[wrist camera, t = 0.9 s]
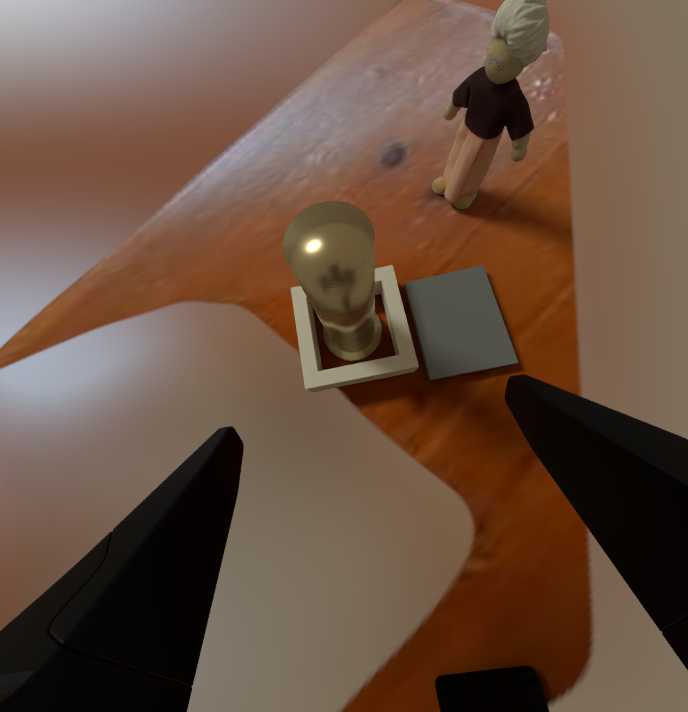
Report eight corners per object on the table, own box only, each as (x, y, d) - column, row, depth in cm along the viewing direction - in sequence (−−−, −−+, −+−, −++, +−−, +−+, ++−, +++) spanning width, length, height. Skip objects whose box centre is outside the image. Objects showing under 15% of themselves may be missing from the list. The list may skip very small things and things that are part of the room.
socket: (414, 371, 22) (418, 366, 20) (312, 392, 23) (305, 389, 21) (390, 279, 25) (392, 264, 22) (298, 300, 25) (290, 287, 23)
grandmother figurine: (414, 191, 27) (448, -3, 14) (436, 165, 27) (486, -45, 15) (482, 226, 25) (588, 38, 12) (504, 197, 25) (626, -11, 13)
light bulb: (387, 355, 23) (401, 279, 10) (330, 367, 23) (276, 307, 11) (375, 302, 24) (374, 178, 12) (320, 314, 25) (264, 206, 12)
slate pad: (513, 364, 22) (518, 362, 21) (428, 381, 22) (430, 379, 21) (479, 270, 24) (483, 265, 23) (403, 287, 24) (404, 282, 23)
